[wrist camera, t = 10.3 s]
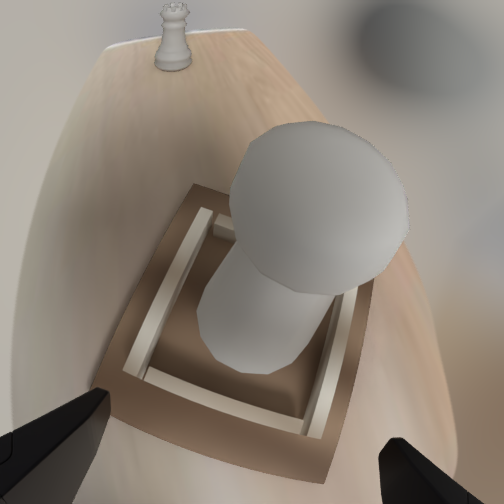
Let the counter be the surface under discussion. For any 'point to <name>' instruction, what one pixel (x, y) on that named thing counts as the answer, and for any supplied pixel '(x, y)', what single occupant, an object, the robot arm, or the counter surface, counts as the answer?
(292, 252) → the salt shaker
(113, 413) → the collar board
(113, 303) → the counter surface
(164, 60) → the rook chess piece
